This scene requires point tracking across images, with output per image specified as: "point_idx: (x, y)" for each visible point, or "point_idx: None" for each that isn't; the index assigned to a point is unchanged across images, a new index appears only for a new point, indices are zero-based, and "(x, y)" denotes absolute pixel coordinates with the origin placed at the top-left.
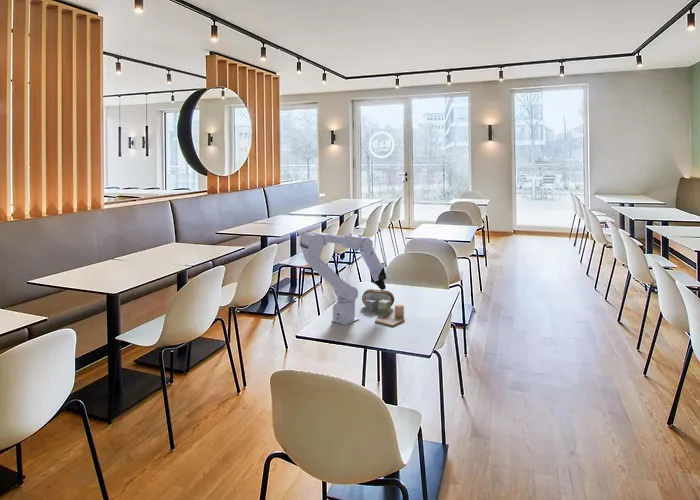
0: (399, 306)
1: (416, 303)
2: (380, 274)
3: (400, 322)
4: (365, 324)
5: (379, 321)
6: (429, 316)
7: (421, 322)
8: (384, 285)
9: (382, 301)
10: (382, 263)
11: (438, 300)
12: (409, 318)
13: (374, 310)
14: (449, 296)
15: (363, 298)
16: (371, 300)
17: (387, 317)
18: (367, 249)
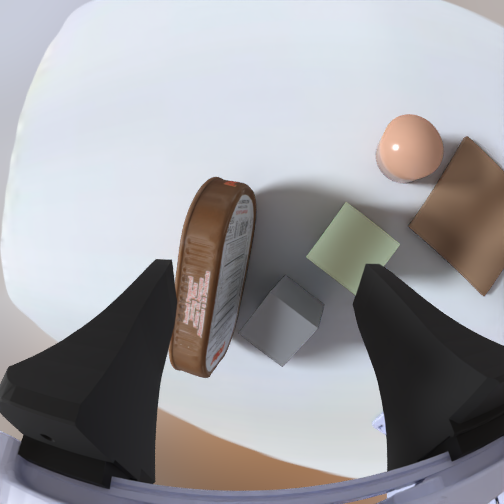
0: (422, 145)
1: (162, 80)
2: (155, 358)
3: (493, 163)
4: (493, 336)
5: (494, 273)
6: (363, 17)
7: (459, 63)
8: (414, 291)
9: (360, 267)
10: (12, 416)
11: (132, 17)
12: (415, 105)
13: (308, 296)
14: (99, 5)
15: (215, 364)
16: (282, 333)
17: (442, 227)
18: None
